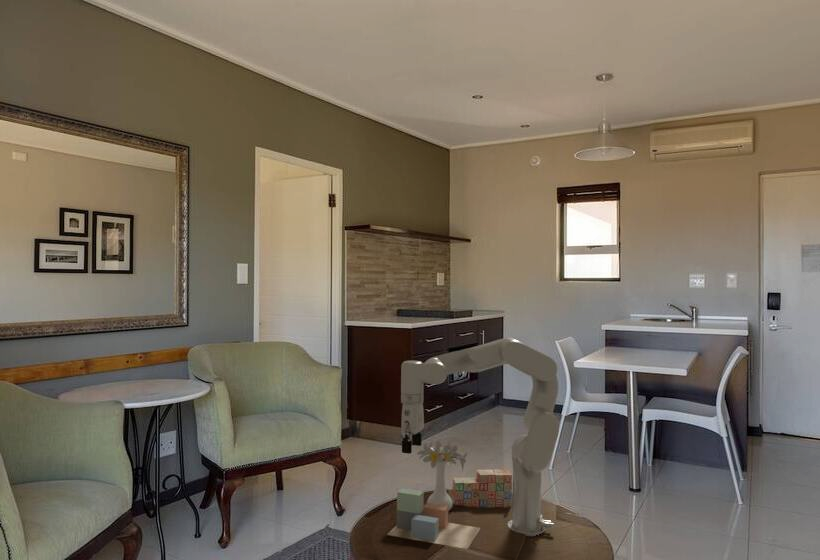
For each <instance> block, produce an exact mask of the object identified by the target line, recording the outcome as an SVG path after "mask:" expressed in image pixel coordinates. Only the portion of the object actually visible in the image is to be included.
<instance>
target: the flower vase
mask: <svg viewBox="0 0 820 560" xmlns="http://www.w3.org/2000/svg"><path fill="white" fill-rule="evenodd" d="M433 444H434V443H433V442H430V443H429V444H428V443H427V442H425V443H424V444H423V450H421V449H420V450H419V451H418V452H417V455H419V459H422V458H423V459H422V461H423V462H424V463H429V462H430V467H431V468H432V469H436V472H435V473H436V477H435V487H434V491H433V492H432V493H431V495H430V496H429V497H428V498H427V501H426V503H430V504H437V505H443V506H449V511H450V510H451V509H452V508H453V506H454V503H453V498H451V496H450V495H449V493H448V492H447V490H446V483H445V482H446V481H445V480H446V479H445V473H446V464H447V466H448V467H449V468H450V467H452V466H451V465H452V464H453V465H457V461H458V460H459V463H460V465H461V471H462V472H463V471H464V466H465V464H466V462H467V455H468V453H469V450H467V451H466V452H465V453H464V454H463V455H462V454H460V453H459V452H457V451H458V446H457V445H456V444H454V445H453V446H452V445H451V443H450V442H447V445H446V444H445V445H443V446H442V444H441V441H439V440H437V441H436V442H435V447H433Z"/></svg>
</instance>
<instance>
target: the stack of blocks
mask: <svg viewBox="0 0 820 560" xmlns="http://www.w3.org/2000/svg"><path fill="white" fill-rule="evenodd" d="M512 495H513V474H512V473H511V472H510V470H508V469H496V468H494V469H476V475H475V477H453V478H452V501H453V505H454V506H463V507H468V508H507V507H506V506H511V507H512Z"/></svg>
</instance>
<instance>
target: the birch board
mask: <svg viewBox="0 0 820 560" xmlns="http://www.w3.org/2000/svg"><path fill="white" fill-rule="evenodd" d="M480 530H481V527H476V526H471V525H465V524H460V523H458V524H457V523H452V522H448V525H447V526H446V528H439V537H438V538H437V539H436V541H435V542H433V541H428V540H422V539H416V538H411V530H405V529H399V528H397V524H396V525H395V526H394V527H393V528H392V529H391V530H390V531H389V532H388V533H387V534H386V535H387V536H392V537H398V538H402V539H409V540H413V541H414V540H415V541H420V542H425V543H431V544H436V545H442V546H447V547H453V548H460V549H465V550H469V547H470V545H472V543H473V541H474V540H475V537H477V535H478V533H479V531H480Z"/></svg>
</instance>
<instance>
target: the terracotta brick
mask: <svg viewBox="0 0 820 560" xmlns="http://www.w3.org/2000/svg"><path fill="white" fill-rule="evenodd" d="M449 511H450V510H449V506H443V505H437V504H430V503H427V502H425V504H424V509H423V516H428V517H434V518H439V528H446V526H447V525H448V523H449Z"/></svg>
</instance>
